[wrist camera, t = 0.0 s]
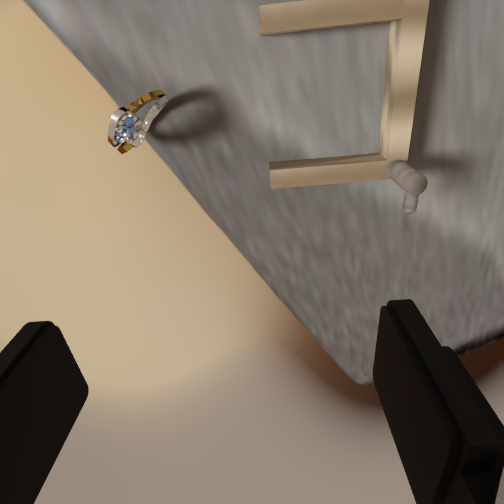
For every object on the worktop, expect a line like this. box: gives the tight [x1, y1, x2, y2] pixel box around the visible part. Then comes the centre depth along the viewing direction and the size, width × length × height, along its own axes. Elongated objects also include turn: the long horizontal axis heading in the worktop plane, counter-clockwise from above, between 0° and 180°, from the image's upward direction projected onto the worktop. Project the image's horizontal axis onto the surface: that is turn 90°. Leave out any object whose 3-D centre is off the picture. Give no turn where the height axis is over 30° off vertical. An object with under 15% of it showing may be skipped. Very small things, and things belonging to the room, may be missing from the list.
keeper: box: [259, 0, 429, 214], centre depth 31 cm, size 18×14×8 cm
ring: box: [108, 90, 170, 154], centre depth 32 cm, size 7×3×8 cm, turn 127°
